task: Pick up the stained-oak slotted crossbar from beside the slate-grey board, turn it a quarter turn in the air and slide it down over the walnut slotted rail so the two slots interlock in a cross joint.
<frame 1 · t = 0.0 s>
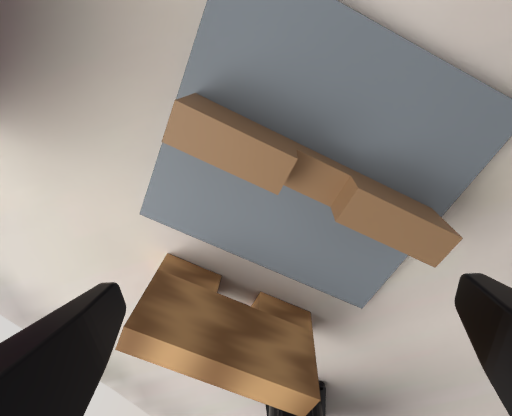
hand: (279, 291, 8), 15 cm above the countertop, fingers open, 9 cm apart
joint board: (309, 164, 21), on the countertop
crossbar: (235, 292, 27), on the countertop
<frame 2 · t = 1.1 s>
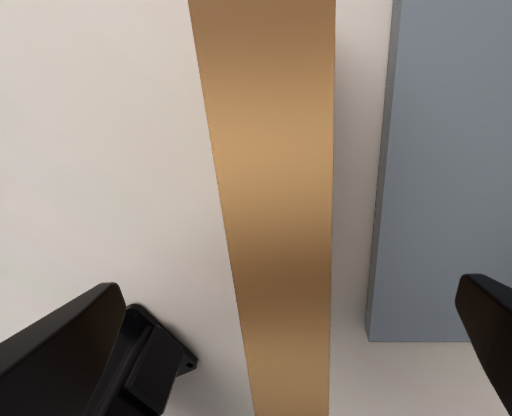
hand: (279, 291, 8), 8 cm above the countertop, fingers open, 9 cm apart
crossbar: (282, 181, 15), on the countertop
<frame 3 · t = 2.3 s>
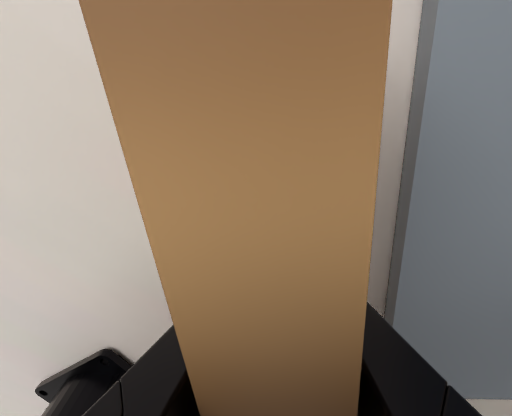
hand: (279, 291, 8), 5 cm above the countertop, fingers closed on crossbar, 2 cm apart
crossbar: (280, 213, 12), on the countertop, touching gripper
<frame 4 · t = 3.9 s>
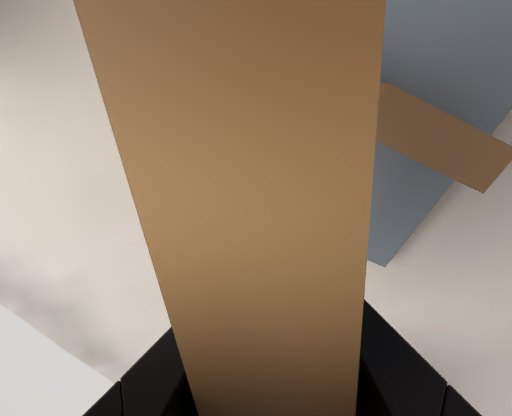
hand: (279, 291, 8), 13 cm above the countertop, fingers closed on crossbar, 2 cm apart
joint board: (323, 85, 18), on the countertop
crossbar: (279, 213, 12), point 9 cm above the countertop, touching gripper
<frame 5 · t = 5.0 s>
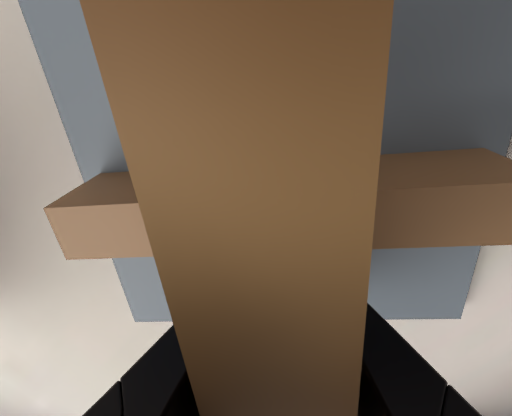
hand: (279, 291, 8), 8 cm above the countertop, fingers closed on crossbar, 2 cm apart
joint board: (280, 177, 16), on the countertop
crossbar: (280, 212, 12), point 4 cm above the countertop, touching gripper
when the fingers open (6 cm above the countertop, at t = 5.7 s): crossbar stays where it is, resting on joint board.
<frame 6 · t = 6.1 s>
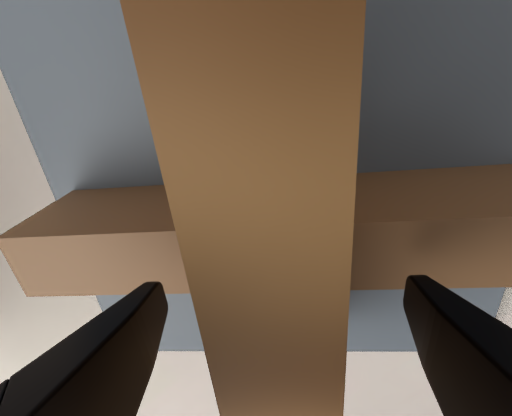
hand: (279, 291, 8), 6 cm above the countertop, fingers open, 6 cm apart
joint board: (280, 195, 14), on the countertop
crossbar: (279, 204, 13), point 1 cm above the countertop, touching joint board
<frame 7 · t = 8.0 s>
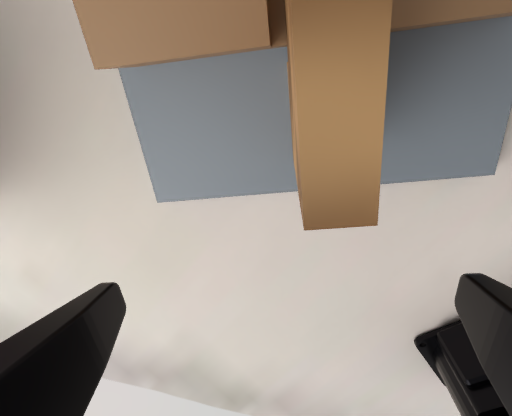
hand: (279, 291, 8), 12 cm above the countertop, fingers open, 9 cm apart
joint board: (307, 16, 15), on the countertop
crossbar: (309, 14, 14), point 1 cm above the countertop, touching joint board
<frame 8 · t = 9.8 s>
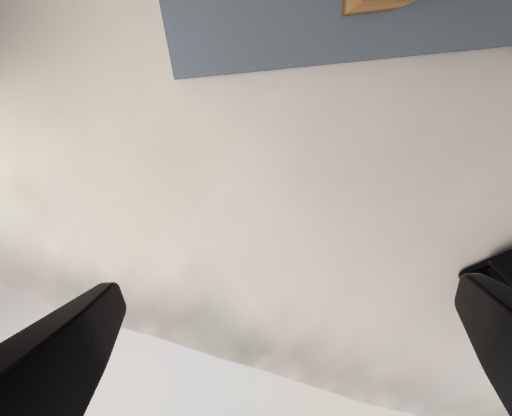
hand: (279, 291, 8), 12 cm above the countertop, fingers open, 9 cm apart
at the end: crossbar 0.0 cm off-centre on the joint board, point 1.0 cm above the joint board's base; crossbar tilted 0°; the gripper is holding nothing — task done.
